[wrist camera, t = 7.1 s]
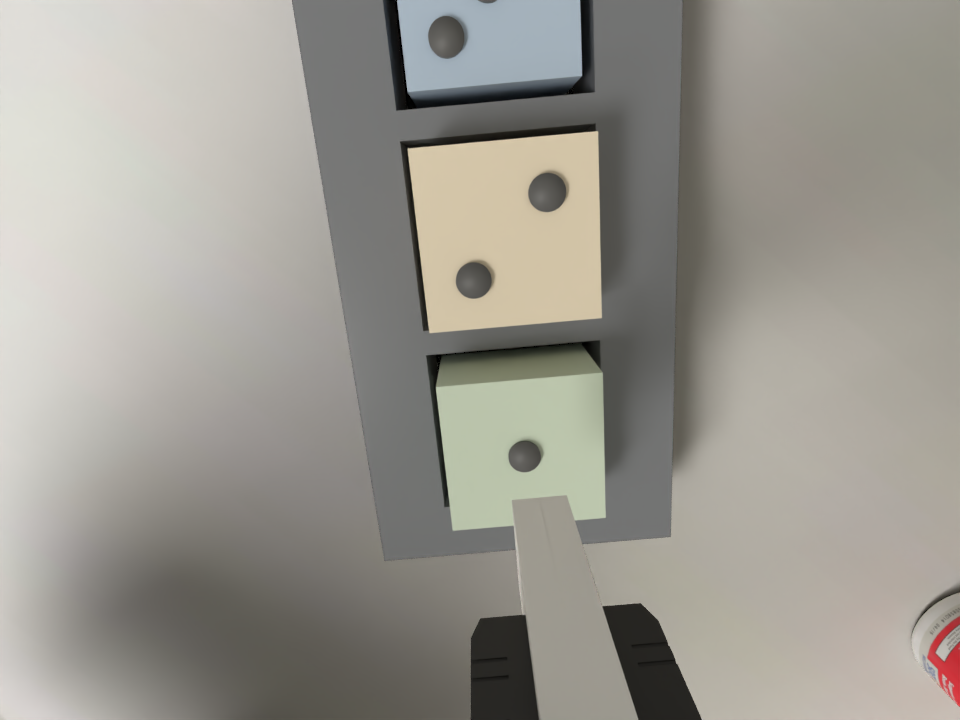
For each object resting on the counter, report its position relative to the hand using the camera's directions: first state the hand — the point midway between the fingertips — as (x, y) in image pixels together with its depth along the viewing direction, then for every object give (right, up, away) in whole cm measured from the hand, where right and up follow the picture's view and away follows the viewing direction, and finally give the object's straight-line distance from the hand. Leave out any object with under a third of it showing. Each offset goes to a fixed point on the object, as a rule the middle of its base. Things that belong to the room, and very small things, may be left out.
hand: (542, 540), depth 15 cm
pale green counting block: (0, +3, +9) cm, 9 cm away
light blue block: (-2, +18, +6) cm, 20 cm away
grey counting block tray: (-1, +11, +9) cm, 14 cm away
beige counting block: (-1, +10, +7) cm, 12 cm away
